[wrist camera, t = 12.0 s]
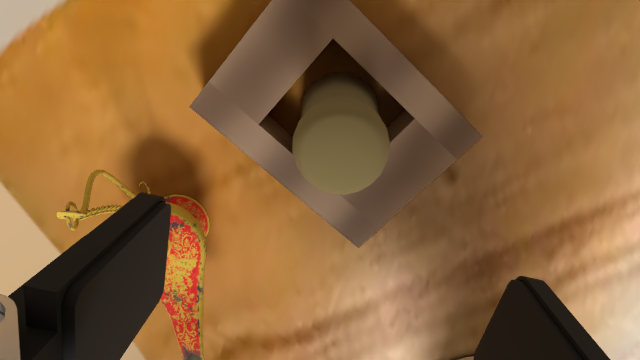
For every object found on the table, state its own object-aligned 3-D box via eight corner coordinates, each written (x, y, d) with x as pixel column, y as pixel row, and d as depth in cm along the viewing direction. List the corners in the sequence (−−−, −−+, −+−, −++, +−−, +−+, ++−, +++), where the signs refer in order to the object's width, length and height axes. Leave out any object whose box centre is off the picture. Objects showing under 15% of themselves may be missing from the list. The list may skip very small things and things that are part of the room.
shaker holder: (466, 124, 29) (482, 136, 26) (356, 226, 32) (358, 247, 29) (309, -35, 25) (306, -45, 22) (205, 98, 29) (189, 106, 26)
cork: (344, 54, 27) (348, 66, 17) (395, 116, 29) (427, 162, 19) (283, 109, 29) (255, 150, 19) (335, 165, 31) (334, 232, 20)
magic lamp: (190, 322, 37) (134, 434, 27) (107, 151, 31) (-6, 210, 21) (256, 310, 36) (225, 420, 26) (184, 131, 30) (106, 182, 20)
